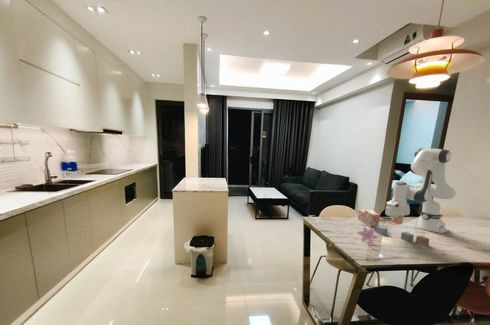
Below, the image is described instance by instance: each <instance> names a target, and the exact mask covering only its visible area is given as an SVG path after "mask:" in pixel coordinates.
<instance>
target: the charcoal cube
mask: <svg viewBox="0 0 490 325" xmlns="http://www.w3.org/2000/svg"><path fill="white" fill-rule="evenodd" d="M400 240H403V241H405V242H408V243H411V242H414V234H412V233H410V232H408V231H402V232H401V236H400Z"/></svg>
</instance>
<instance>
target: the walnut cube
mask: <svg viewBox="0 0 490 325" xmlns="http://www.w3.org/2000/svg"><path fill="white" fill-rule="evenodd" d="M415 244H418V245H420V246H422V247H427V246H429V245H430V238H429V237H426V236H424V235H417V236H416V237H415Z"/></svg>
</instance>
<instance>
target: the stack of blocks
mask: <svg viewBox="0 0 490 325" xmlns="http://www.w3.org/2000/svg"><path fill="white" fill-rule="evenodd" d="M380 215H381V214H379V213H378V212H376V211H375V210H372V209H358V217H357V219H358V220H360V221H361V222H362V223H363V222H364V223H363V224H365V225H366V226H367V225H368V228H369V229H372V228H375V229H377V226H380V225H379V223H380Z"/></svg>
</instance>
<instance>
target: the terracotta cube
mask: <svg viewBox="0 0 490 325" xmlns="http://www.w3.org/2000/svg"><path fill="white" fill-rule="evenodd" d="M394 218H395V219H396V220H395V221H392V218H390V222H391V223H393V224H395V225H403V222H404V217H400V216H395V217H394Z"/></svg>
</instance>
